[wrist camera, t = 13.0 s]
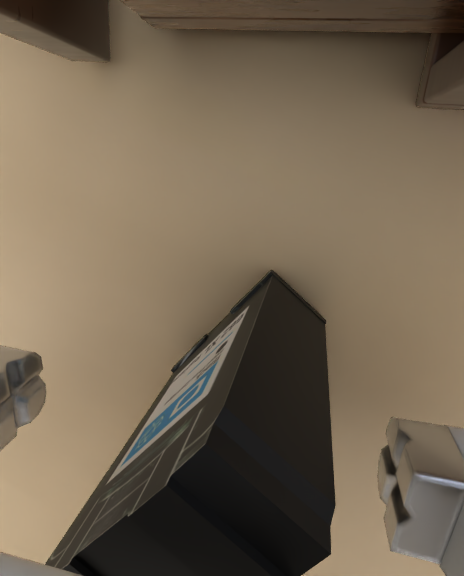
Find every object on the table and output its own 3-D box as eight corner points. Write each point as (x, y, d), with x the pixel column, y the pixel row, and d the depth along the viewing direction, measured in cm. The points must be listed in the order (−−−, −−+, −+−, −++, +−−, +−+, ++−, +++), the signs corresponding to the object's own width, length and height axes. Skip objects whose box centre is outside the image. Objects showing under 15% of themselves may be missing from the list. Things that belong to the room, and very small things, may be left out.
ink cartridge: (274, 263, 12) (197, 449, 4) (326, 313, 12) (340, 574, 4) (178, 357, 14) (11, 599, 6) (225, 399, 14) (116, 683, 6)
